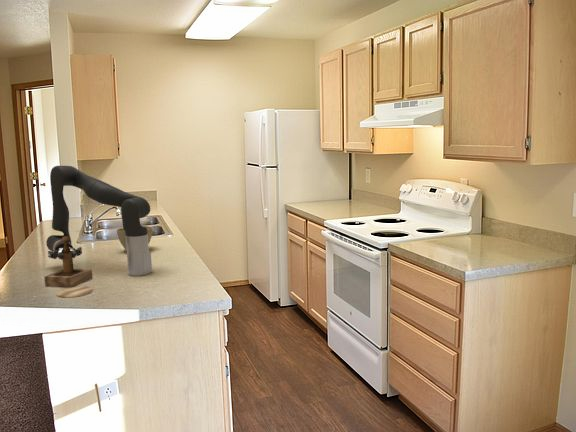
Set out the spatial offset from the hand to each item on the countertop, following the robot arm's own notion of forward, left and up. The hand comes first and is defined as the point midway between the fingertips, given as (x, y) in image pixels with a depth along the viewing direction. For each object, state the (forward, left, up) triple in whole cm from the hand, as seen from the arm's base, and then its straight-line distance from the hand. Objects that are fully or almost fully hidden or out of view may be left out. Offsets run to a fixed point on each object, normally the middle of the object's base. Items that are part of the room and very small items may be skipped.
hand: (67, 256), depth 211 cm
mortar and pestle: (+2, -2, -10) cm, 11 cm away
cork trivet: (-10, +10, -12) cm, 19 cm away
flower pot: (+7, -61, -12) cm, 62 cm away
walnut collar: (+2, -2, -12) cm, 12 cm away
